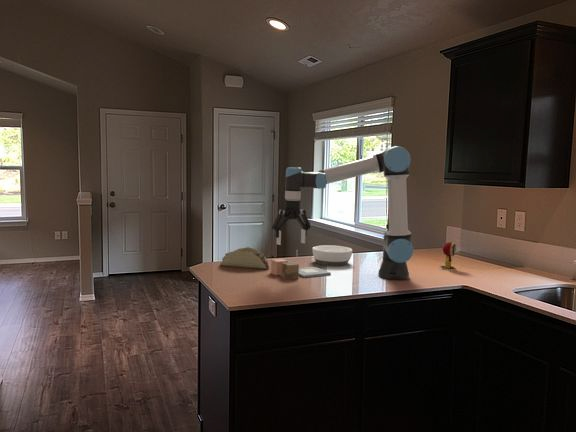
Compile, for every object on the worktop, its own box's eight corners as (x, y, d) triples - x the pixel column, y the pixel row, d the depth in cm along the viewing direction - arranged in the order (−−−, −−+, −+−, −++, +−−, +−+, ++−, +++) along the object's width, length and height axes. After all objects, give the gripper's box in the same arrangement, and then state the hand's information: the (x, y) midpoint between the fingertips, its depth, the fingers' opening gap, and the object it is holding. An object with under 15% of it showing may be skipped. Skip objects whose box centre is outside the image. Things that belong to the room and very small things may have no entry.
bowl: (306, 264, 274) (307, 249, 273) (318, 257, 295) (319, 244, 294) (346, 269, 266) (347, 253, 265) (355, 261, 287) (356, 247, 286)
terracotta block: (287, 274, 248) (287, 261, 247) (276, 275, 245) (277, 261, 244) (281, 272, 253) (281, 258, 252) (271, 273, 250) (271, 259, 249)
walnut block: (298, 278, 241) (298, 264, 240) (287, 279, 238) (288, 265, 237) (292, 275, 246) (292, 262, 245) (281, 277, 243) (281, 262, 242)
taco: (266, 271, 255) (266, 251, 254) (217, 267, 261) (217, 248, 260) (271, 267, 264) (272, 248, 263) (224, 263, 271) (224, 245, 270)
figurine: (455, 271, 269) (457, 244, 267) (436, 269, 274) (438, 242, 272) (458, 268, 276) (460, 242, 274) (440, 266, 281) (442, 240, 279)
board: (330, 275, 250) (330, 272, 250) (303, 277, 242) (303, 275, 242) (314, 269, 263) (314, 266, 263) (288, 271, 255) (288, 269, 255)
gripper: (310, 199, 247) (308, 241, 250) (265, 199, 235) (264, 243, 237) (318, 200, 241) (316, 243, 243) (273, 200, 228) (271, 246, 231)
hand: (290, 243), depth 240 cm, fingers open, 13 cm apart
